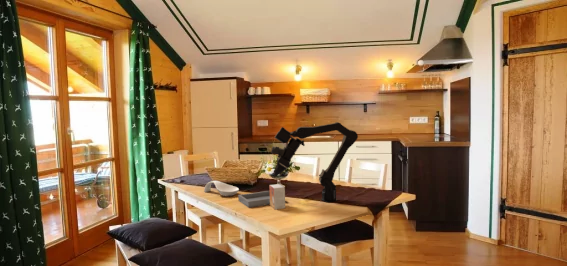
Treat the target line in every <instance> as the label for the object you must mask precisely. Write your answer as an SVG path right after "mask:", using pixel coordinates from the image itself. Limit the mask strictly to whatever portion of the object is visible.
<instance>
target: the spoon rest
mask: <svg viewBox="0 0 567 266" xmlns="http://www.w3.org/2000/svg"><path fill="white" fill-rule="evenodd" d="M212 184H214V186H215V188H216V190H217V192H218V193H219V194H220V195H221V196H223V197H232V196H234V195H236V194H238V192H239V191H240V189H239V187H237V186H233V185H231V184H227V183H225V182H222V181H219V180H212V181H209V182H207V183H206V184H205V186H204V188H203V189H204V191H203V192H204V193H208V192H211V191H212V190H211V186H212Z"/></svg>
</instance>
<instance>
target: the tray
mask: <svg viewBox="0 0 567 266" xmlns="http://www.w3.org/2000/svg"><path fill="white" fill-rule="evenodd" d="M237 197H238V202H240V203H241V204H242V205H244V206H245V207H247V208H248V209H250V208H255V207H262V206H263V207H264V206H270V190H264V191H259V192H251V193H244V194H242V193H241V194H238V195H237Z"/></svg>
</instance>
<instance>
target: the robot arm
mask: <svg viewBox="0 0 567 266" xmlns="http://www.w3.org/2000/svg"><path fill="white" fill-rule="evenodd" d="M335 131H337V132H338V133H340V134H341V135H342V136H343V137H342V139H341V144H340V145H339V147H338V150H337V151H336V153H335V154H334V156H333V158H332V159H331V162H330V164H328V167H326V169H322V170H321V172H320V173H319V174H318V182H319V183H320V185H321V186H322V187H323V188H322V191H321V198H320V200H321V201H324V202H325V203H333V202H338V201H339V200H338V198H337V186H336V184H335V183H334V182H333V180H334V177H335V173H336V171H337V169H338V167H340V164H341V162H342V161H343V159H344V157H345V155H346V153H347V151H349V149H350V148H351V147H352V146H353V145H354V144H355V142H357V140H358V138H359V135H358V132H357V131H355V130H352V129H349V128H347V127H345V126H344V125H342V124H341V123H340V122H337V121H336V122H333V123H326V124H321V125H315V126H299V127H297V128H296V130H294V131H289V130H287V129H286V128H285V127H283V126H281V127H280V129H279V131H277V132H276V134H275V136H274V138H275V139H276V140H277V141H279V142H280V143H282V144H286V146H284V147H282V148H281V147H280V146H277V145H276V146H274V145H273V146H272V147H271V151H270V153H271V154H272V155H273V154H274V155H277V156H276V160H277V161H276V165H275V168H274V170H273V173H274V174H273V176H274V177H277V176H279V175H280V174H281V173H283V172H284V171H286V170H287V169H289V168H290V166H291V162H292V161H291V160H292V159H293V157H294V156H295V155H296V153H297V151H298V149H299V148H300V146H303V147H305V140H304V139H306V138H309V137H312V136H314V135H316V134H322V133H329V132H335Z"/></svg>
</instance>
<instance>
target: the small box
mask: <svg viewBox="0 0 567 266" xmlns="http://www.w3.org/2000/svg"><path fill="white" fill-rule="evenodd" d="M268 188H269V191H270V205H269V206H270V207H271V208H272V209H274V210H281V209H286V188H285V186H283V185H281V184H280V183H277V184H269V187H268Z"/></svg>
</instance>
